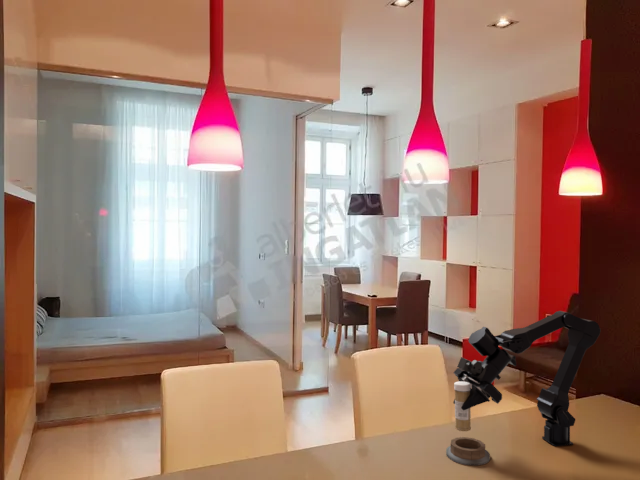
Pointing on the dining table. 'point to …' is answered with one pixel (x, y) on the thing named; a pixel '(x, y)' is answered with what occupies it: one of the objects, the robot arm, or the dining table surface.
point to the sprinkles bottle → (461, 415)
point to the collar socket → (468, 451)
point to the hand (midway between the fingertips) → (458, 406)
